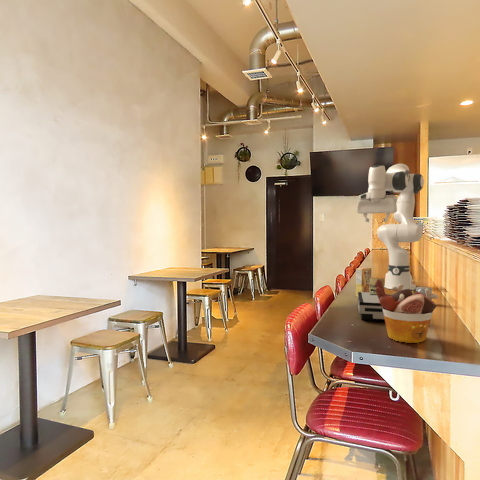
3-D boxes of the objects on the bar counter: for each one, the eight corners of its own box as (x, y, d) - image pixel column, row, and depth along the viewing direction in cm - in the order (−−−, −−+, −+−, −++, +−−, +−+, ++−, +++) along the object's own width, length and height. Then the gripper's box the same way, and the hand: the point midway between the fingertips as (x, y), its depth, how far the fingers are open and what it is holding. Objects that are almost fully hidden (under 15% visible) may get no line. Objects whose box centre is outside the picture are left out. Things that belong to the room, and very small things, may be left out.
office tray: (404, 308, 183) (404, 291, 182) (415, 325, 152) (415, 304, 151) (357, 306, 188) (357, 289, 188) (359, 322, 157) (359, 302, 157)
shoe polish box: (376, 300, 200) (376, 277, 200) (384, 302, 196) (384, 278, 195) (369, 301, 198) (369, 278, 197) (377, 303, 193) (377, 279, 193)
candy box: (364, 294, 217) (364, 267, 217) (371, 295, 214) (371, 267, 213) (355, 296, 212) (355, 268, 211) (362, 297, 208) (362, 269, 208)
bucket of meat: (436, 335, 137) (437, 279, 136) (438, 349, 122) (439, 285, 121) (375, 329, 145) (376, 276, 144) (371, 342, 130) (371, 282, 129)
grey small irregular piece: (417, 302, 196) (417, 286, 196) (432, 304, 192) (433, 287, 191) (414, 304, 190) (414, 288, 190) (429, 306, 186) (430, 289, 186)
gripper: (398, 195, 204) (398, 222, 204) (360, 197, 216) (359, 222, 216) (395, 194, 199) (394, 221, 199) (355, 196, 211) (355, 221, 211)
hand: (376, 221), depth 208 cm, fingers open, 8 cm apart
